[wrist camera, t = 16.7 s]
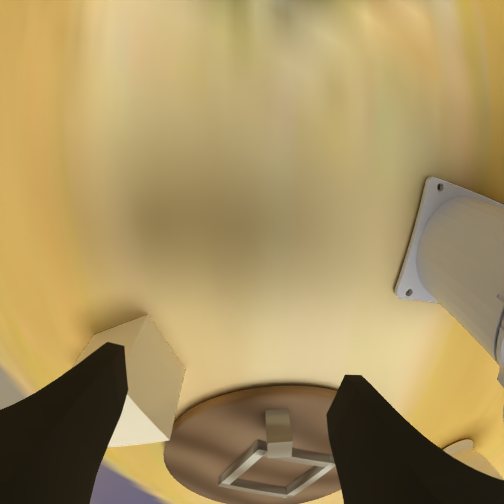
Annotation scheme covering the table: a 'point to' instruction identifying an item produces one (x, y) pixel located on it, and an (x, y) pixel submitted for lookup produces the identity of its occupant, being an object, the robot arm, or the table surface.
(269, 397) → the turntable
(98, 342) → the beige block
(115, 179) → the table surface
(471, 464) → the jar
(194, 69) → the table surface
